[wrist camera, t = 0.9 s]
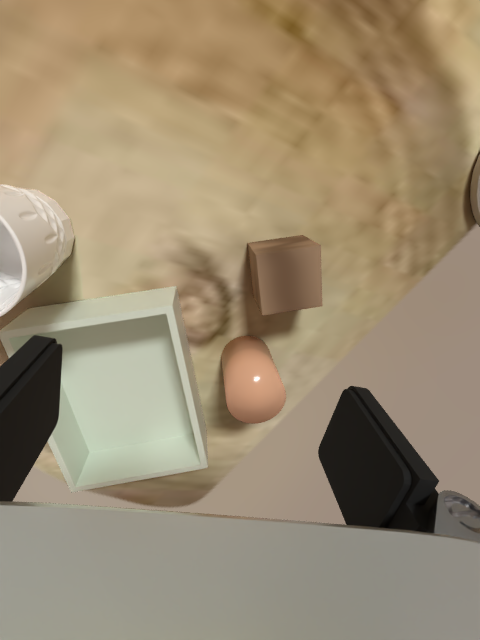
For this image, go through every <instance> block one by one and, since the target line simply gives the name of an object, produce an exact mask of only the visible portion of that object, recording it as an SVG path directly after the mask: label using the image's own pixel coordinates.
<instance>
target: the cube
mask: <svg viewBox="0 0 480 640" xmlns="http://www.w3.org/2000/svg"><path fill="white" fill-rule="evenodd" d="M247 244H248V253H249V261H250V270H251V279H252V288H253V296H254V298H255V301H256V303H257V305H258V307H259V309H260V312H261V314H262V316H263V315H269V314H275V313H282V312H288V311H294V310H301V309H307V308H313V307H320V306H322V277H321V245H319V244H317V243H316V242H314V241H312V240H310V239H309V238H307V237H305V236H303V235H300V236H293V237H286V238H279V239H272V240H265V241H258V242H252V243H247Z"/></svg>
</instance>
